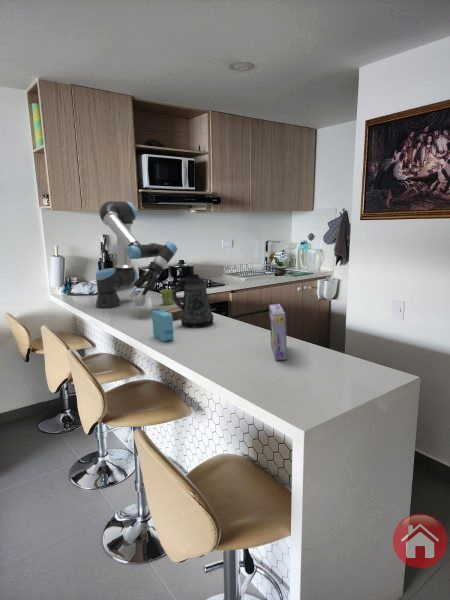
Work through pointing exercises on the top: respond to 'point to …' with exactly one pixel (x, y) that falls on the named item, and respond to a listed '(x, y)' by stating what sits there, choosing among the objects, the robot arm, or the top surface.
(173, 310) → the walnut block
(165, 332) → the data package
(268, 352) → the top surface
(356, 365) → the top surface
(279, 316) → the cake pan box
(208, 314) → the beer stein
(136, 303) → the medicine box
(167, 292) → the plant pot
